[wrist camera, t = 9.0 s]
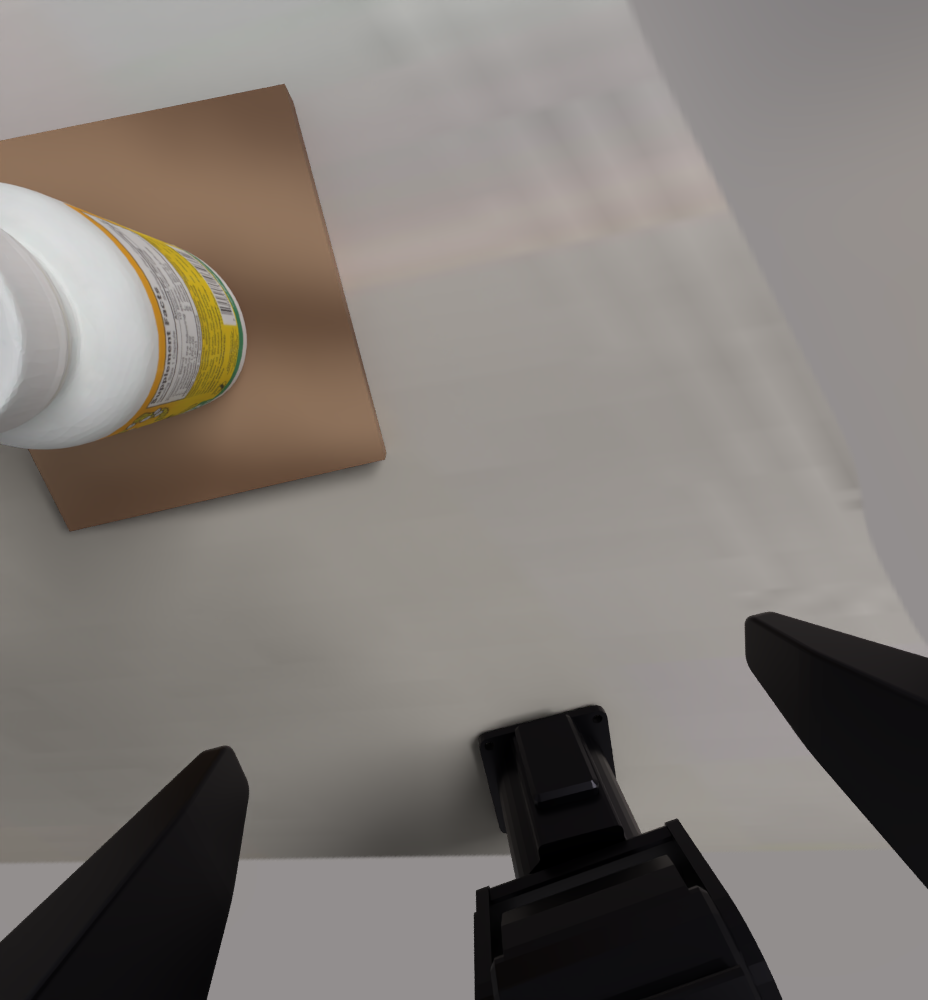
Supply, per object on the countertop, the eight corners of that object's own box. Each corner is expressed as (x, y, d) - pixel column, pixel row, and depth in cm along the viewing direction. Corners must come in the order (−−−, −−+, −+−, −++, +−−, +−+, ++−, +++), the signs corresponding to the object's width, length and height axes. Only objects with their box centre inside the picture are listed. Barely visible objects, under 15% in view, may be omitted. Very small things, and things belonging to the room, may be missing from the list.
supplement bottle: (264, 276, 17) (88, 200, 8) (235, 429, 18) (58, 520, 9) (89, 218, 16) (-357, 48, 7) (72, 384, 17) (-314, 435, 8)
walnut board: (386, 452, 20) (385, 459, 19) (89, 520, 20) (69, 531, 19) (293, 101, 16) (284, 83, 15) (-79, 176, 16) (-116, 163, 15)
